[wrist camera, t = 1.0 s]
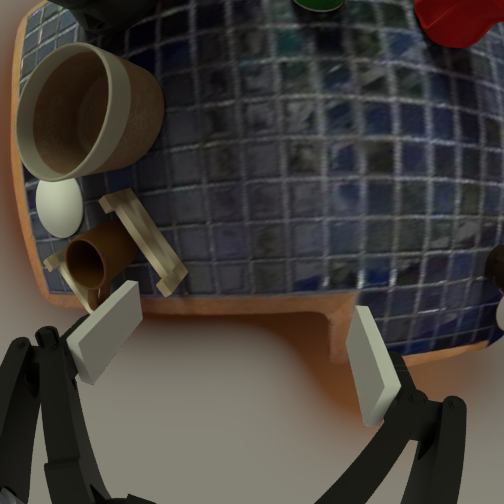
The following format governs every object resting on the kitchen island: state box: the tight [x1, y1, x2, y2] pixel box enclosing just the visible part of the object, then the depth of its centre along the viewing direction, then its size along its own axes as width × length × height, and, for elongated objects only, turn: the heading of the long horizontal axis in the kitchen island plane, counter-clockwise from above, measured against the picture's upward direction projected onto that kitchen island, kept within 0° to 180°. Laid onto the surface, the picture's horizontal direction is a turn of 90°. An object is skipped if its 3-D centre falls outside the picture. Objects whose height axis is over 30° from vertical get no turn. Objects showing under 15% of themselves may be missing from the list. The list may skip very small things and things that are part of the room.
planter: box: [15, 42, 164, 182], centre depth 29 cm, size 16×16×14 cm
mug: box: [65, 220, 138, 311], centre depth 38 cm, size 12×8×9 cm, turn 173°
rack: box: [44, 187, 189, 315], centre depth 39 cm, size 15×17×7 cm
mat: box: [36, 178, 84, 238], centre depth 40 cm, size 12×12×1 cm
